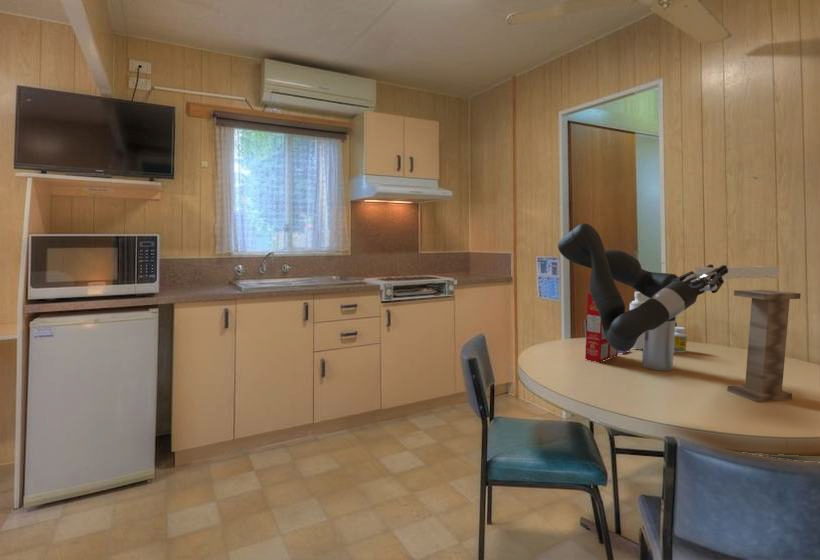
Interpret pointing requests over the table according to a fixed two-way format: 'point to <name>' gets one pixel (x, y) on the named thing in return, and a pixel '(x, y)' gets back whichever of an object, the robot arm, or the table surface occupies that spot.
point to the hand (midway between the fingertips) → (719, 267)
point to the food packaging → (596, 336)
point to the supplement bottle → (680, 339)
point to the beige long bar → (742, 272)
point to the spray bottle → (634, 305)
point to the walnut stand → (766, 345)
